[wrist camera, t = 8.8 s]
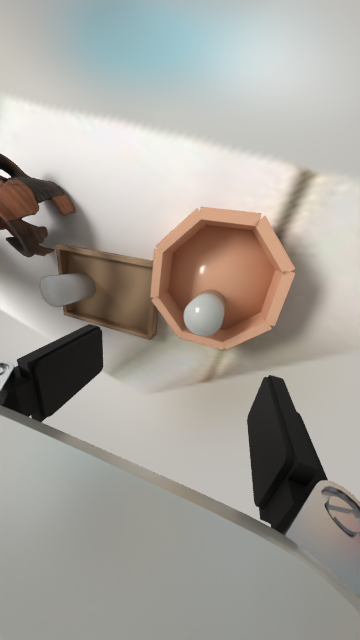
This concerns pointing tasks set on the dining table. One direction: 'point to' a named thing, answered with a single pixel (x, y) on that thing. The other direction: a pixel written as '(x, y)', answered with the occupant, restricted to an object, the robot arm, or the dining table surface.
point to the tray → (112, 290)
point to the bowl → (222, 273)
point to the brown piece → (27, 207)
